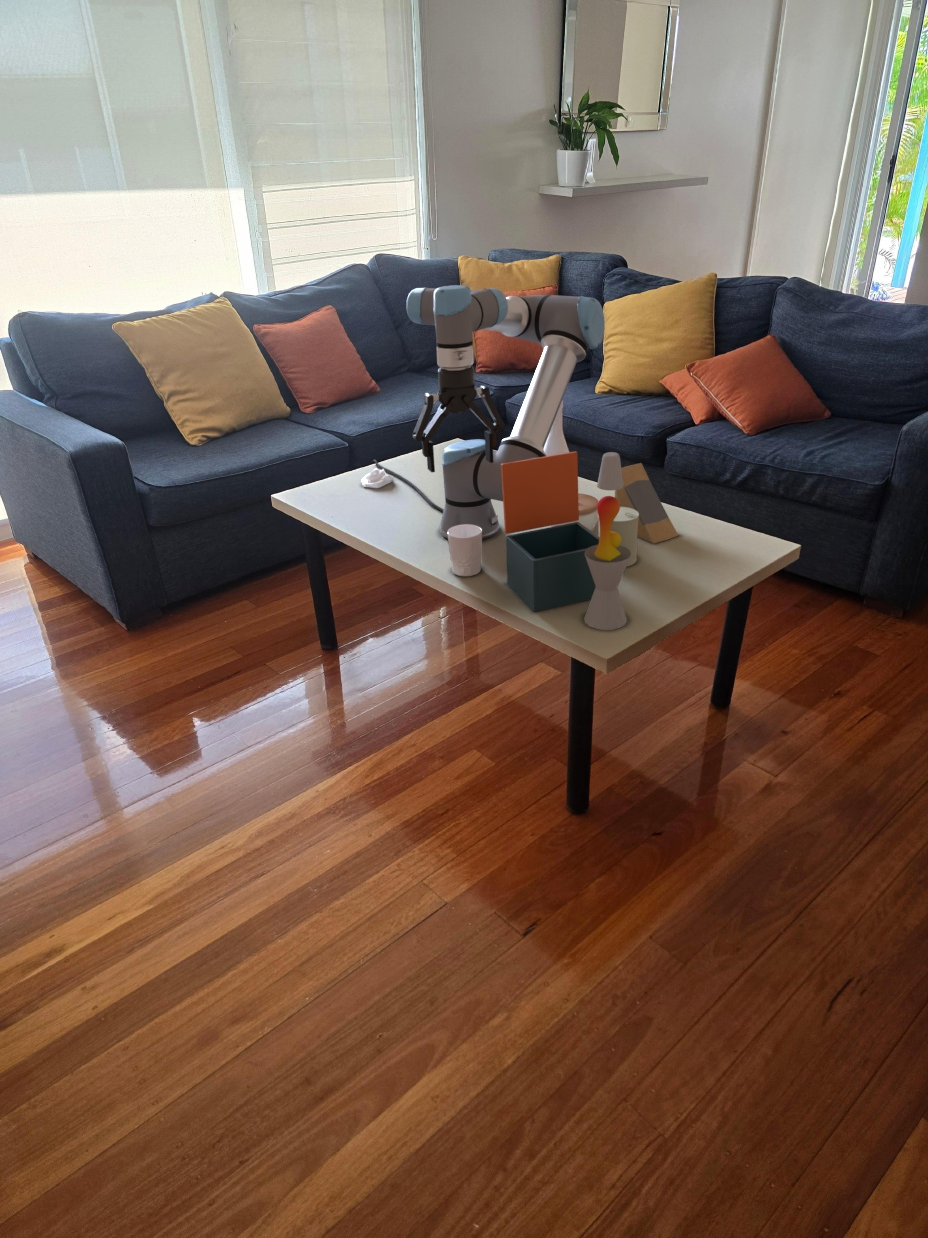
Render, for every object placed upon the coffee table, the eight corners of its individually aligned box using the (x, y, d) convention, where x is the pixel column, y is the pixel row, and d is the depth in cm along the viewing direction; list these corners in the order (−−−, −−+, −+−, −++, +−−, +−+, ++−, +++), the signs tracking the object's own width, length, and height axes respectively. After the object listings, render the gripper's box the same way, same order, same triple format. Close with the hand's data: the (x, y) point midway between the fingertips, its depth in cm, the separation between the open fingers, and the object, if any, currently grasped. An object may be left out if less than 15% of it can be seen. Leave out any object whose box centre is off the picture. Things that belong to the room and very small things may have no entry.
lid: (577, 451, 180) (575, 451, 180) (502, 464, 175) (500, 463, 175) (579, 520, 186) (577, 519, 187) (506, 534, 181) (504, 533, 182)
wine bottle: (567, 517, 220) (569, 404, 205) (533, 514, 223) (532, 402, 208) (577, 505, 227) (579, 394, 213) (543, 501, 230) (543, 393, 216)
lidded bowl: (562, 550, 202) (563, 507, 196) (538, 532, 212) (538, 491, 207) (607, 539, 206) (609, 497, 201) (581, 522, 216) (582, 482, 211)
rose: (392, 473, 245) (359, 475, 244) (394, 487, 247) (361, 490, 246) (391, 462, 253) (359, 465, 253) (393, 476, 256) (361, 479, 255)
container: (608, 595, 180) (610, 545, 174) (534, 612, 175) (533, 561, 169) (577, 569, 192) (578, 521, 186) (507, 584, 187) (505, 535, 181)
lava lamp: (611, 634, 165) (618, 464, 148) (574, 621, 171) (576, 456, 154) (636, 617, 171) (645, 451, 154) (599, 605, 176) (604, 443, 159)
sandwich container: (653, 544, 202) (657, 485, 195) (612, 525, 214) (614, 468, 207) (679, 535, 206) (684, 477, 199) (638, 517, 218) (641, 461, 210)
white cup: (462, 560, 199) (460, 521, 194) (490, 567, 195) (488, 528, 190) (443, 573, 194) (440, 533, 189) (470, 580, 190) (468, 540, 185)
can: (627, 570, 190) (630, 521, 184) (590, 563, 195) (591, 515, 189) (642, 555, 197) (645, 507, 191) (606, 548, 201) (608, 501, 195)
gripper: (403, 377, 165) (411, 479, 175) (518, 362, 172) (519, 461, 182) (392, 370, 171) (401, 469, 182) (504, 356, 178) (506, 452, 189)
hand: (460, 465), depth 182 cm, fingers open, 13 cm apart
